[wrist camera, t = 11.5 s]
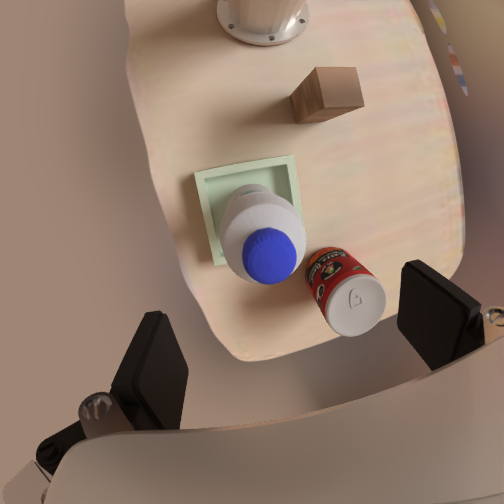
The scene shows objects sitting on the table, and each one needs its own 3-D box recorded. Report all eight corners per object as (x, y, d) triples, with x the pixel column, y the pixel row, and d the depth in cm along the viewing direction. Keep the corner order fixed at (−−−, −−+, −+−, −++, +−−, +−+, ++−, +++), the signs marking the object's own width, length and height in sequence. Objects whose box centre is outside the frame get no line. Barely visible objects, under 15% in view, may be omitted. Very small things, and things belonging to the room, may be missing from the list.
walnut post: (290, 95, 31) (315, 67, 20) (319, 93, 31) (355, 67, 20) (295, 124, 32) (324, 107, 21) (324, 121, 32) (364, 106, 21)
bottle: (287, 215, 35) (343, 278, 16) (243, 241, 36) (251, 330, 17) (261, 171, 33) (293, 182, 14) (215, 198, 34) (189, 245, 15)
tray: (196, 171, 34) (194, 172, 31) (289, 155, 34) (293, 154, 31) (215, 259, 37) (214, 266, 35) (302, 243, 37) (306, 248, 35)
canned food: (336, 234, 37) (371, 262, 27) (361, 274, 40) (396, 310, 29) (293, 267, 38) (313, 305, 28) (321, 304, 41) (345, 347, 30)
